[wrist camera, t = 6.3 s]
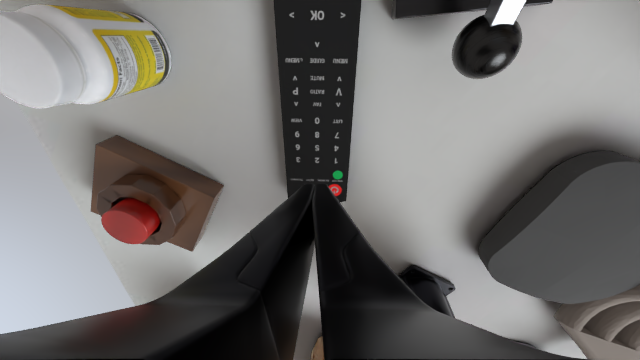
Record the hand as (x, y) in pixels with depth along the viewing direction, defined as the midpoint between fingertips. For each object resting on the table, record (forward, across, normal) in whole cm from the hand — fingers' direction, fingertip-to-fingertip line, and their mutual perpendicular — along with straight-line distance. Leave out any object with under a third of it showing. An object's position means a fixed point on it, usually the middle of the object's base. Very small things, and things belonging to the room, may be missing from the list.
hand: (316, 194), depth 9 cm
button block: (+12, +17, +8) cm, 22 cm away
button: (+8, +17, +7) cm, 20 cm away
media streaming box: (+12, -23, +12) cm, 29 cm away
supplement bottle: (+12, +14, -5) cm, 19 cm away
